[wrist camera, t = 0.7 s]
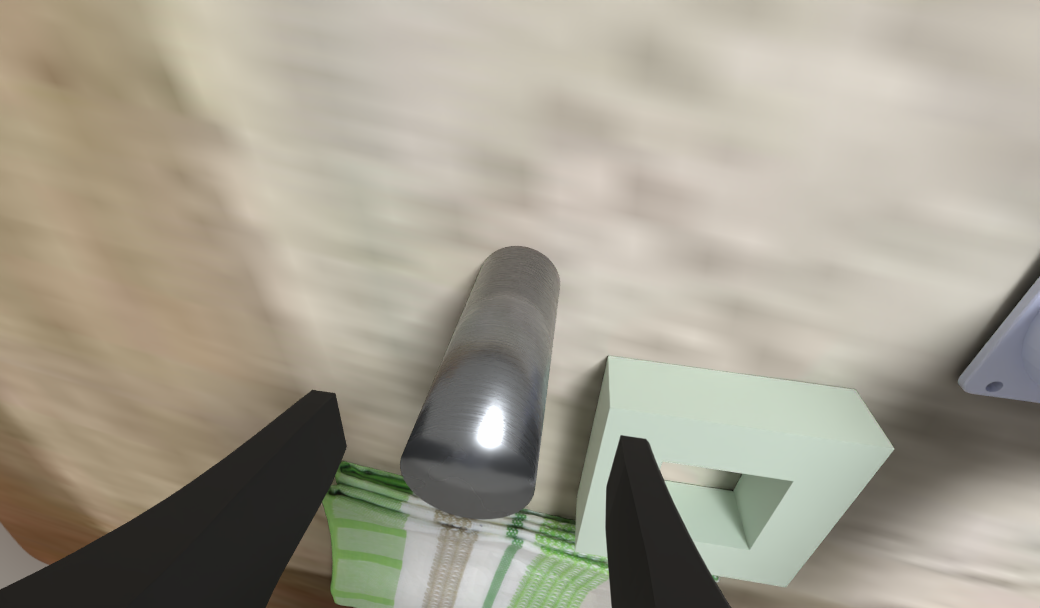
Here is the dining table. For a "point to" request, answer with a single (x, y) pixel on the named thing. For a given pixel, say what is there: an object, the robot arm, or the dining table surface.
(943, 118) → the dining table surface
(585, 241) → the dining table surface
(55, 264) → the dining table surface
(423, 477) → the peg
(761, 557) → the socket
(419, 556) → the dish towel
